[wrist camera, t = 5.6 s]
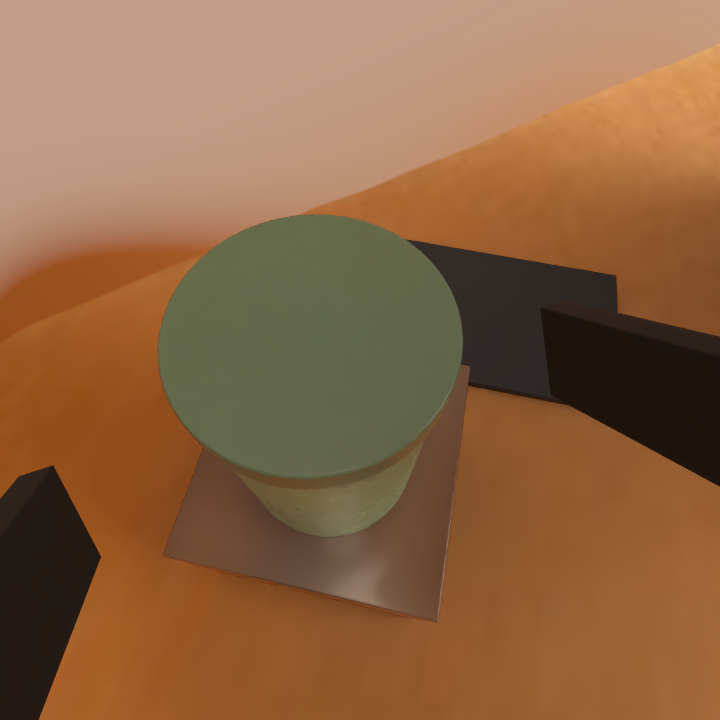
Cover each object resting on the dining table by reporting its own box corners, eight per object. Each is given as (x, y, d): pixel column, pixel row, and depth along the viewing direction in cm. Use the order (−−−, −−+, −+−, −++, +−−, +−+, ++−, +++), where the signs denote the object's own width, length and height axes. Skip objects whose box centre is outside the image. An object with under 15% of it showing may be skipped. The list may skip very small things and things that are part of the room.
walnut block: (441, 427, 28) (470, 365, 21) (413, 619, 24) (438, 623, 16) (275, 393, 29) (249, 322, 22) (217, 571, 24) (161, 555, 17)
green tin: (427, 392, 20) (478, 238, 12) (399, 560, 17) (441, 513, 9) (274, 361, 21) (219, 193, 12) (221, 518, 18) (101, 438, 9)
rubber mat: (613, 279, 33) (616, 275, 33) (616, 414, 28) (621, 411, 28) (382, 240, 34) (382, 235, 34) (351, 362, 30) (351, 358, 29)
